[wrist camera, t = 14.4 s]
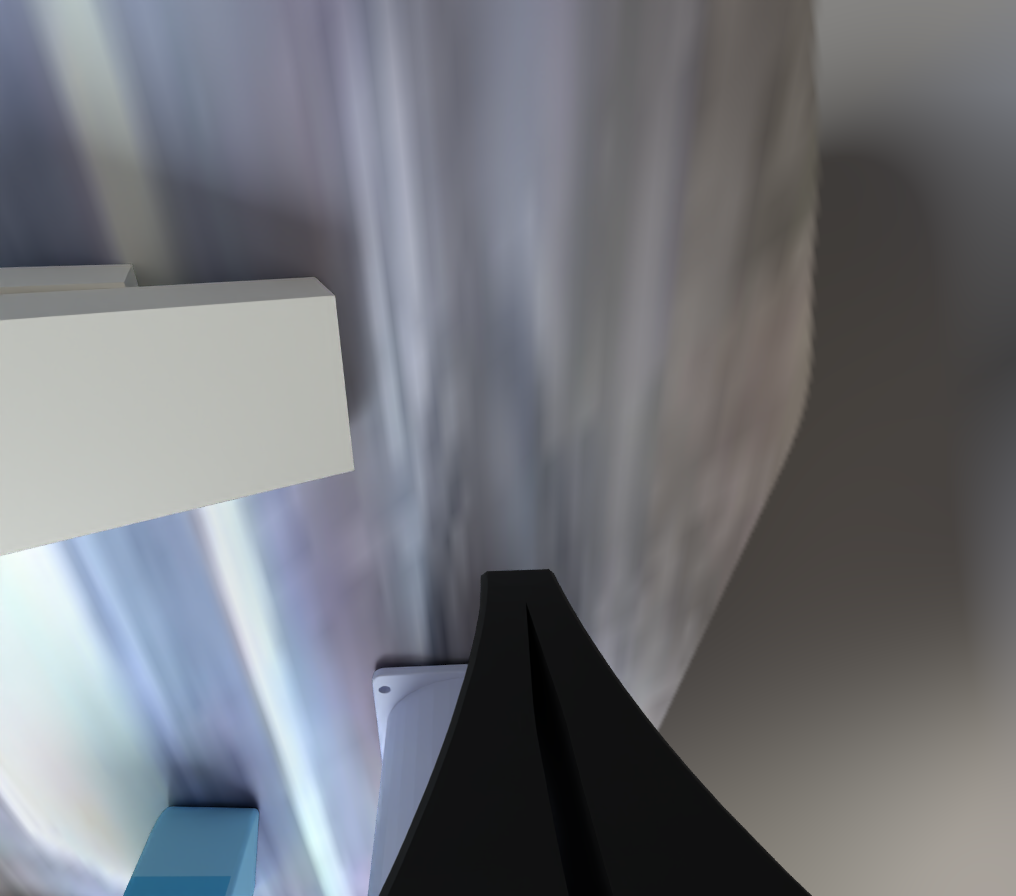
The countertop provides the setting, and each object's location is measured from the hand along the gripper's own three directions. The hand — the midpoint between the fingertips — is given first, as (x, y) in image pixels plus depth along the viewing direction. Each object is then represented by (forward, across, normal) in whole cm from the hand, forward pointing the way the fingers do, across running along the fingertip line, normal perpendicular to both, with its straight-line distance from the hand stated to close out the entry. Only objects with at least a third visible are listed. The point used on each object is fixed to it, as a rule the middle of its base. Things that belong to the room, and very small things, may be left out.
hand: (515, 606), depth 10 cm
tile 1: (+6, +4, -2) cm, 8 cm away
